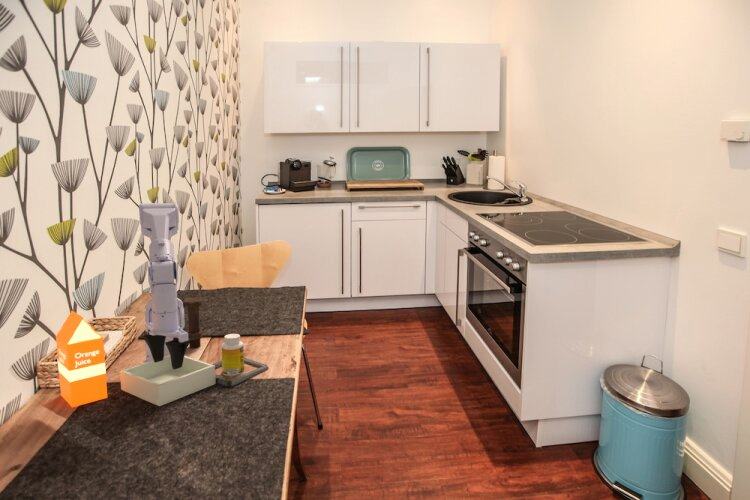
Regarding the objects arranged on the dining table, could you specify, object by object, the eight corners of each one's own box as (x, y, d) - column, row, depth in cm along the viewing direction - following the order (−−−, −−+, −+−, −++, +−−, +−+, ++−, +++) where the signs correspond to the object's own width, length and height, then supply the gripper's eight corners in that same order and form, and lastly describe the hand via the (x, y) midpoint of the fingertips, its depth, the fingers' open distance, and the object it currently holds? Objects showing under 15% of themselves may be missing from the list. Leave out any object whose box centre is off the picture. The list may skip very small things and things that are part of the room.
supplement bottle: (244, 376, 137) (242, 338, 136) (221, 378, 136) (220, 339, 135) (244, 368, 143) (243, 332, 141) (223, 370, 142) (221, 333, 140)
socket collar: (195, 375, 138) (195, 370, 138) (236, 360, 149) (236, 355, 148) (230, 387, 130) (230, 382, 130) (270, 371, 141) (270, 365, 141)
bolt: (202, 352, 155) (199, 302, 153) (184, 352, 155) (181, 302, 152) (205, 345, 161) (203, 297, 159) (188, 346, 160) (186, 297, 158)
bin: (121, 389, 129) (119, 370, 128) (177, 370, 141) (176, 352, 141) (159, 406, 120) (158, 386, 119) (215, 383, 133) (214, 365, 132)
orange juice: (95, 386, 131) (89, 307, 128) (108, 397, 124) (102, 314, 121) (60, 395, 125) (52, 313, 122) (71, 407, 119) (63, 321, 116)
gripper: (132, 309, 129) (135, 363, 131) (168, 319, 120) (171, 376, 122) (158, 303, 134) (161, 354, 136) (194, 312, 126) (197, 367, 128)
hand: (167, 364), depth 130 cm, fingers open, 7 cm apart
